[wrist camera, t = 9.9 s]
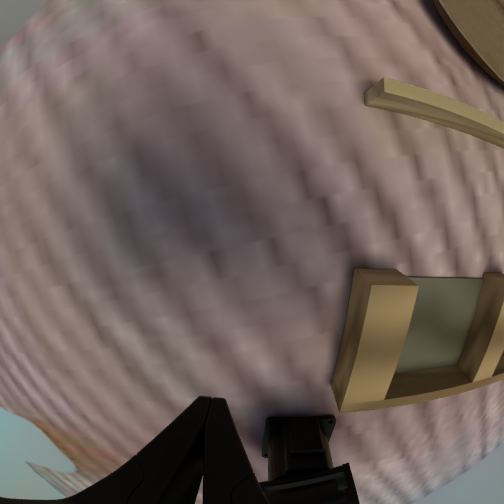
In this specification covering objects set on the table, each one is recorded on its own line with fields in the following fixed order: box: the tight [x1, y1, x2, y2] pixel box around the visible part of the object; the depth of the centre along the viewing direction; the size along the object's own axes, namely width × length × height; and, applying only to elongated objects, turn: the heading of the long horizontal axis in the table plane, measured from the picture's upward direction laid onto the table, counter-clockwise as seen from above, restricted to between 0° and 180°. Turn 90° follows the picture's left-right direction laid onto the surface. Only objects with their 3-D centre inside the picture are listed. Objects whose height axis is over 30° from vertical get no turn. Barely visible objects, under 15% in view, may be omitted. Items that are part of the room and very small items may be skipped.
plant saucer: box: [433, 0, 504, 85], centre depth 12 cm, size 18×18×3 cm
